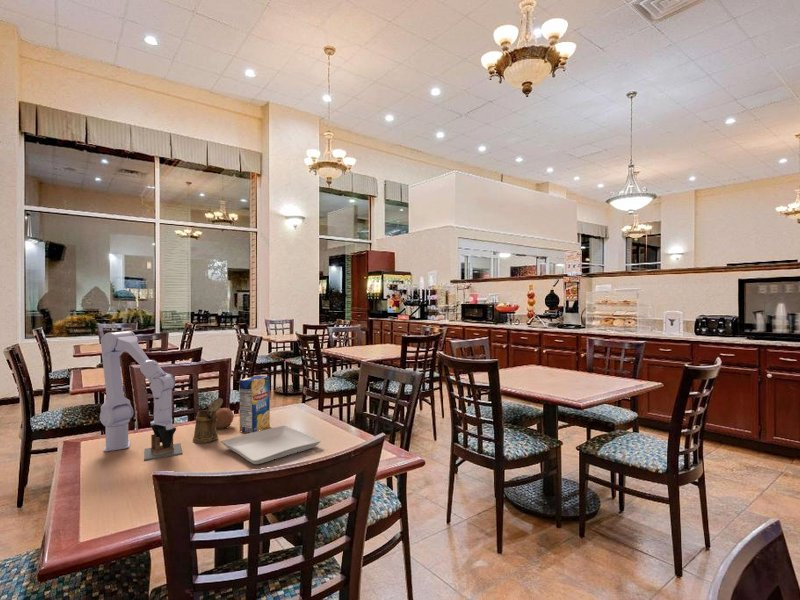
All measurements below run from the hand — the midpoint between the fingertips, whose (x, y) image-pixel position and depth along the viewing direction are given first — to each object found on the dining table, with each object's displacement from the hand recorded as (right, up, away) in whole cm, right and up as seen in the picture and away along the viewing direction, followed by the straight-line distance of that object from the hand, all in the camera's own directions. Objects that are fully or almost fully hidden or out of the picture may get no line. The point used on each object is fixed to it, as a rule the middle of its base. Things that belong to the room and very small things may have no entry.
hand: (163, 445), depth 158 cm
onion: (+10, -3, +29) cm, 31 cm away
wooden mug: (+11, -3, +12) cm, 17 cm away
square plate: (+39, -3, +3) cm, 39 cm away
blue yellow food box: (+25, -3, +27) cm, 37 cm away
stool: (0, -2, 0) cm, 2 cm away
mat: (0, -3, 0) cm, 3 cm away
